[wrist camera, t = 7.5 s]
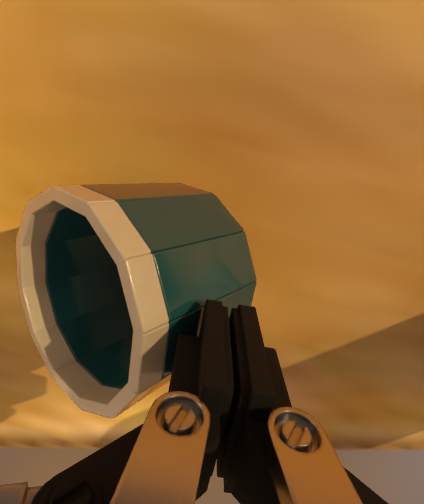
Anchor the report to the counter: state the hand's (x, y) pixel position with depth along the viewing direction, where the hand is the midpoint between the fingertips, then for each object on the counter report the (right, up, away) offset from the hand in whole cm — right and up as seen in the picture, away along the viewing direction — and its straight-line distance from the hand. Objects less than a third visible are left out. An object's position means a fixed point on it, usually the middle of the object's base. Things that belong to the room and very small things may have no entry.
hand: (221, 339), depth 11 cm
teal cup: (-2, +2, +5) cm, 6 cm away
